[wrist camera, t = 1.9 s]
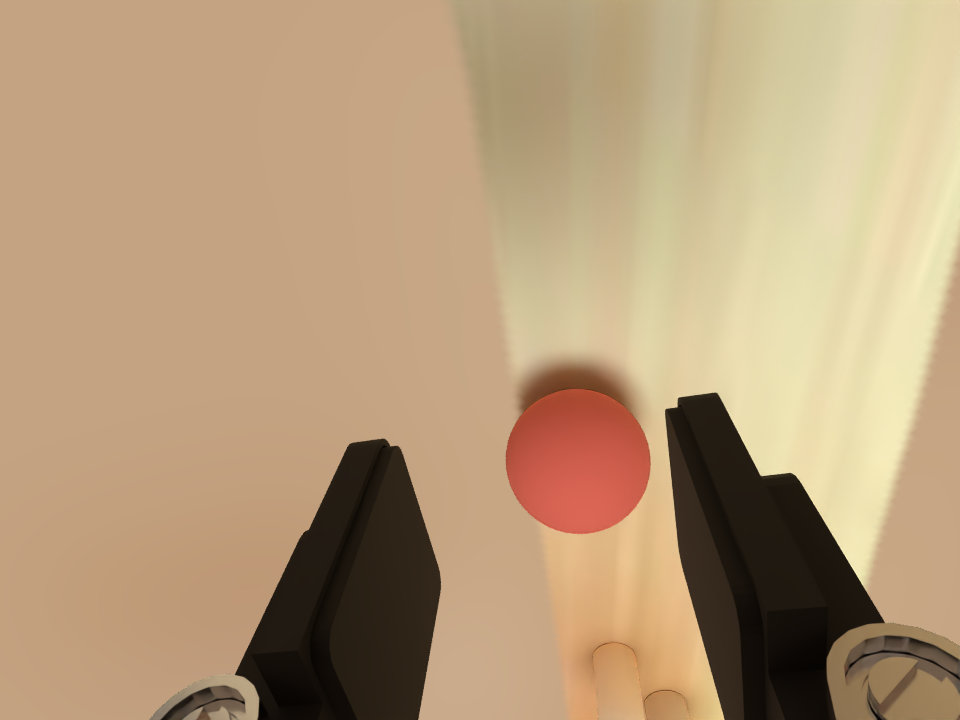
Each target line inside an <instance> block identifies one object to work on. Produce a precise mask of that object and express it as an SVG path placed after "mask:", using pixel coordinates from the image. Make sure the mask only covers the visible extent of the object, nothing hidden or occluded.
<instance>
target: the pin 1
mask: <svg viewBox="0 0 960 720" xmlns="http://www.w3.org/2000/svg"><path fill="white" fill-rule="evenodd" d="M593 666H594V677H595V688H596V699H597V710H598V720H646V719H645V713H644V707H643V700H642V694H641V688H640V682H639V676H638V669H637V663H636V657H635V653H634V652H633V650H632V649H631V648H629V647H628V646H626V645H623V644H619V643H609V644H605V645H602V646H600V647H599V648H597V649H596V650H595V652H594V654H593Z"/></svg>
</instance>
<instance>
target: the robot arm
mask: <svg viewBox="0 0 960 720" xmlns="http://www.w3.org/2000/svg"><path fill="white" fill-rule="evenodd" d="M665 417H666V428H667V438H668V448H669V458H670V468H671V478H672V488H673V498H674V508H675V518H676V528H677V538H678V547H679V554H680V559H681V564H682V568H683V572H684V575H685V579H686V582H687V586H688V589H689V593H690V597H691V600H692V604H693V607H694V611H695V615H696V618H697V622H698V625H699V629H700V632H701V636H702V640H703V643H704V647H705V650H706V654H707V658H708V661H709V665H710V668H711V672H712V676H713V679H714V683H715V686H716V690H717V693H718V697H719V701H720V704H721V708H722V711H723V715H724V719H725V720H960V646H959V645H957V644H956V643H954V642H953V641H951V640H949V639H947V638H946V637H943V636H940V635H938V634H935V633H932V632H930V631H927V630H924V629H922V628H919V627H913V626H908V625H901V624H896V623H885V622H884V620H883V619H882V617H881V615H880V614H879V612H878V610H877V609H876V607H875V605H874V604H873V602H872V600H871V599H870V597H869V595H868V594H867V592H866V590H865V589H864V587H863V585H862V584H861V582H860V580H859V579H858V577H857V575H856V574H855V572H854V570H853V569H852V567H851V565H850V564H849V562H848V560H847V559H846V557H845V555H844V554H843V552H842V550H841V549H840V547H839V545H838V544H837V542H836V540H835V539H834V537H833V536H832V534H831V532H830V531H829V529H828V527H827V526H826V524H825V522H824V521H823V519H822V517H821V516H820V514H819V512H818V511H817V509H816V507H815V506H814V504H813V502H812V501H811V499H810V497H809V496H808V494H807V492H806V491H805V489H804V487H803V486H802V484H801V482H800V481H799V480H798V478H797V477H796V476H795V475H793V474H792V473H786V474H777V475H769V476H760V474H759V472H758V470H757V468H756V466H755V464H754V462H753V460H752V458H751V456H750V455H749V453H748V451H747V449H746V447H745V445H744V443H743V441H742V439H741V437H740V435H739V433H738V431H737V429H736V428H735V426H734V424H733V422H732V420H731V418H730V416H729V414H728V412H727V410H726V408H725V406H724V404H723V402H722V401H721V399H720V397H719V395H718V394H717V393H709V394H701V395H694V396H687V397H680V398H678V407H677V408H670V409H666V410H665ZM440 590H441V578H440V571H439V567H438V564H437V561H436V558H435V554H434V552H433V548H432V545H431V542H430V539H429V535H428V533H427V529H426V526H425V523H424V520H423V517H422V514H421V510H420V507H419V504H418V501H417V498H416V495H415V492H414V488H413V485H412V482H411V479H410V476H409V473H408V469H407V466H406V463H405V460H404V457H403V454H402V451H401V449H400V448H399V447H398V446H391V447H390V445H389V443H388V441H387V440H385V439H377V440H370V441H363V442H356V443H351V444H349V446H348V447H347V449H346V451H345V453H344V456H343V458H342V460H341V462H340V464H339V466H338V469H337V471H336V473H335V475H334V477H333V479H332V481H331V484H330V486H329V488H328V490H327V492H326V494H325V497H324V498H323V501H322V503H321V505H320V507H319V509H318V511H317V513H316V516H315V518H314V520H313V522H312V524H311V526H310V529H309V530H307V531H305V532H304V533H303V535H302V536H301V538H300V539H299V541H298V543H297V545H296V548H295V550H294V552H293V554H292V556H291V558H290V560H289V562H288V564H287V566H286V568H285V571H284V573H283V575H282V577H281V579H280V581H279V583H278V585H277V587H276V590H275V592H274V594H273V596H272V598H271V600H270V602H269V604H268V606H267V608H266V611H265V613H264V615H263V617H262V619H261V621H260V623H259V625H258V627H257V629H256V631H255V634H254V636H253V638H252V640H251V642H250V644H249V646H248V648H247V650H246V652H245V654H244V657H243V659H242V661H241V663H240V665H239V667H238V669H237V671H236V674H235V675H232V674H225V675H216V676H211V677H209V678H206V679H203V680H200V681H198V682H195V683H193V684H191V685H190V686H188V687H187V688H185V689H183V690H181V691H180V692H178V693H177V694H175V695H174V696H173V697H172V698H170V699H169V700H168V701H167V702H166V703H165V704H163V705H162V706H161V707H160V708H159V709H158V710H157V711H156V712H155V713H154V715H153V716H152V717H151V718H150V720H418V718H419V712H420V706H421V700H422V695H423V689H424V684H425V678H426V672H427V665H428V661H429V655H430V649H431V643H432V638H433V631H434V626H435V620H436V615H437V609H438V603H439V597H440Z"/></svg>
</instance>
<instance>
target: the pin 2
mask: <svg viewBox="0 0 960 720" xmlns="http://www.w3.org/2000/svg"><path fill="white" fill-rule="evenodd" d="M644 705H645V711H646V717H647V720H690V718H689V714H688V710H687V705H686V701H685V699H684V697H683V696H681V695H680V694H678V693H676V692H673V691H658V692H655V693H652V694H651V695H649V696H648V697H647V698H646V700H645V703H644Z"/></svg>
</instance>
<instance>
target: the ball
mask: <svg viewBox="0 0 960 720" xmlns="http://www.w3.org/2000/svg"><path fill="white" fill-rule="evenodd" d="M650 465H651V462H650V451H649V446H648V442H647V440H646V437H645V434H644V432H643V430H642V428H641V426H640V424H639V423H638V422H637V420H636V419H635V418H634V416H633V415H632V414H631V413H630V412H629V411H628V410H627V409H626V408H625V407H624V406H623V405H621V404H620V403H619V402H617V401H616V400H614V399H612V398H611V397H609V396H606V395H604V394H601V393H599V392H595V391H591V390H585V389H568V390H562V391H558V392H554V393H551V394H549V395H547V396H545V397H543V398H541V399H539V400H538V401H536V402H535V403H533V404H532V405H531V406H530V407H528V409H527V410H526V411H525V412H524V413H523V414H522V415H521V416H520V418H519V419H518V421H517V422H516V424H515V426H514V428H513V430H512V432H511V434H510V437H509V440H508V445H507V451H506V470H507V475H508V479H509V482H510V486H511V488H512V490H513V492H514V494H515V496H516V498H517V500H518V501H519V502H520V504H521V505H522V506H523V507H524V509H525V510H526V511H527V512H528V513H529V514H530V515H531V516H533V517H534V518H535V519H536V520H538V521H539V522H541V523H543V524H544V525H546V526H548V527H550V528H552V529H555V530H558V531H562V532H566V533H573V534H587V533H594V532H598V531H601V530H604V529H607V528H610V527H612V526H613V525H615V524H617V523H619V522H620V521H622V520H623V519H624V518H625V517H626V516H627V515H629V514H630V513H631V512H632V511H633V509H634V508H635V507H636V506H637V504H638V503H639V501H640V500H641V498H642V496H643V494H644V492H645V490H646V487H647V483H648V480H649V475H650Z"/></svg>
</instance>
